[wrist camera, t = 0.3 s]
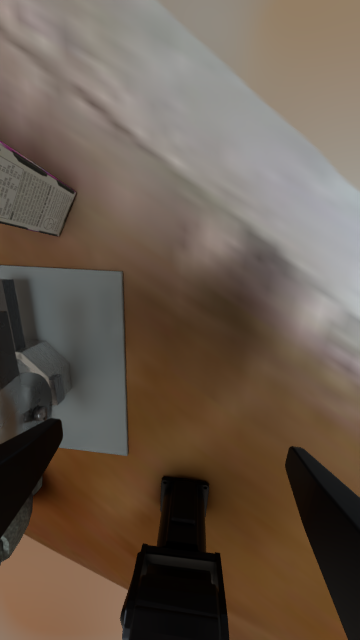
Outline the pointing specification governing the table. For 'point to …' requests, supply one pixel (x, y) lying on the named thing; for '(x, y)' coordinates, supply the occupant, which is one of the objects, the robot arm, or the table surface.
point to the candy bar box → (31, 195)
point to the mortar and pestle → (17, 527)
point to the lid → (19, 390)
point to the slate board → (81, 348)
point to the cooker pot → (35, 348)
